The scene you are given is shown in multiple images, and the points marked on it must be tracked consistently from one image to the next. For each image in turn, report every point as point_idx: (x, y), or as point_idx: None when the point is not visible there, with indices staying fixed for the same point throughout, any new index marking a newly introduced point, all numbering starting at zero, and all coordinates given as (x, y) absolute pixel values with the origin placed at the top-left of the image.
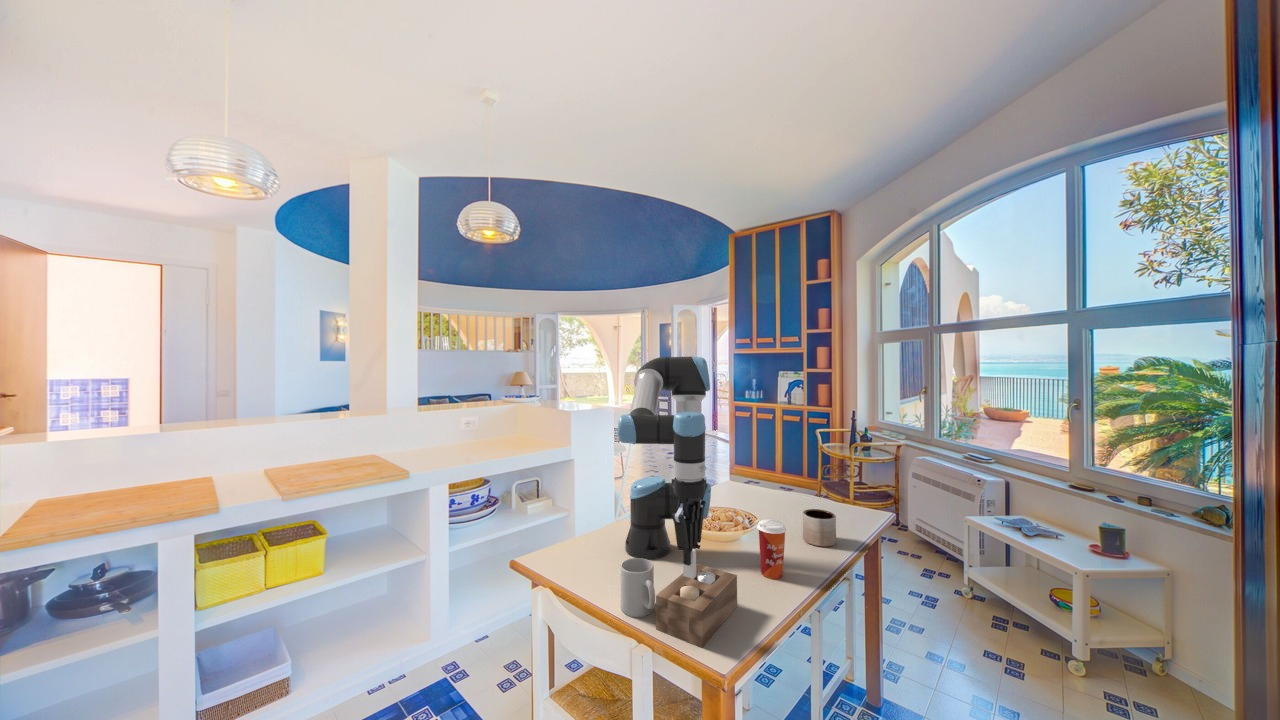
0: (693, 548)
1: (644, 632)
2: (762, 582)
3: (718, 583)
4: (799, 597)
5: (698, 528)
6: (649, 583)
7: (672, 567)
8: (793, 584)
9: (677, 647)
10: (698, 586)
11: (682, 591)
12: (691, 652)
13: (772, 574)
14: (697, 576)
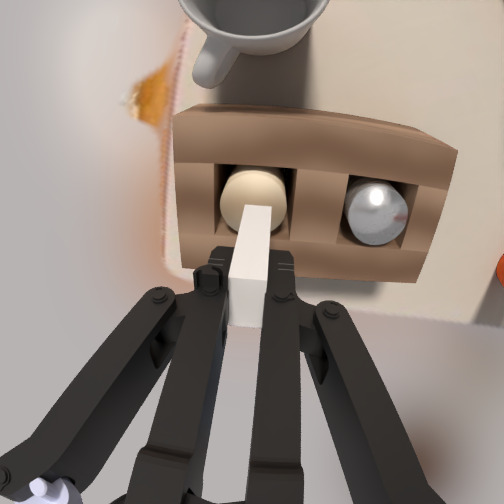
0: (262, 318)
1: (173, 87)
2: (485, 255)
3: (353, 257)
4: (443, 317)
5: (327, 407)
6: (197, 69)
7: (496, 42)
8: (481, 300)
9: (172, 178)
10: (307, 213)
11: (233, 189)
12: (176, 209)
13: (500, 274)
14: (369, 189)
